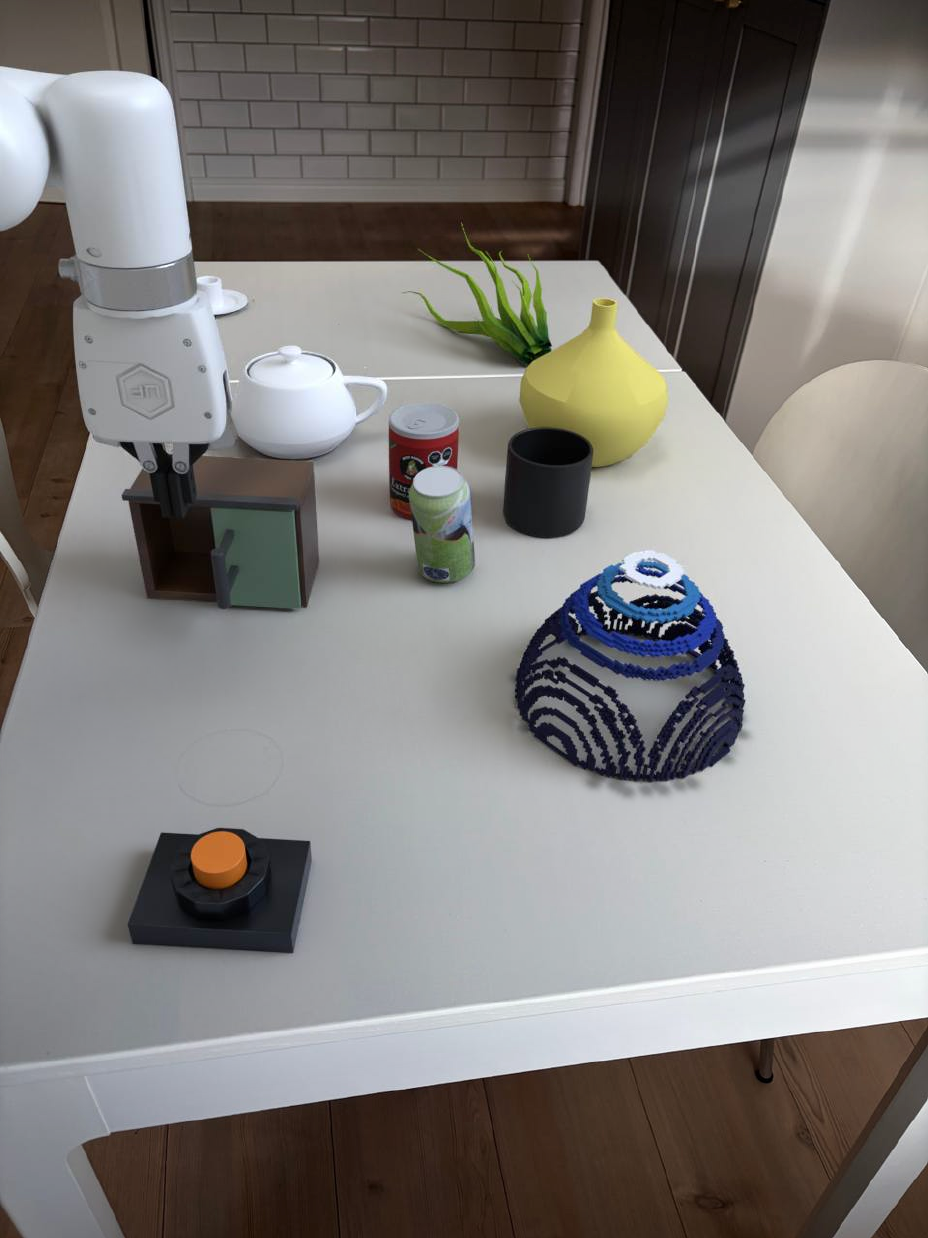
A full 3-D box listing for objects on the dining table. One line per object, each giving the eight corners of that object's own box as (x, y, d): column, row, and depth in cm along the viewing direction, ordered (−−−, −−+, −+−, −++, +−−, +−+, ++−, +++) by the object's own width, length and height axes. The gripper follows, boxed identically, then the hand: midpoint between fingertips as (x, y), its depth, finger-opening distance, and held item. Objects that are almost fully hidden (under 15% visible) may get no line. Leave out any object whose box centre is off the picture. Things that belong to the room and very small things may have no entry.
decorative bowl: (784, 705, 90) (826, 574, 81) (650, 819, 78) (682, 682, 69) (612, 605, 101) (632, 481, 92) (472, 692, 89) (480, 560, 80)
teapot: (389, 414, 133) (388, 326, 126) (386, 471, 121) (385, 377, 113) (200, 411, 132) (188, 321, 124) (178, 468, 119) (164, 372, 112)
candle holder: (174, 293, 166) (171, 267, 163) (247, 292, 168) (245, 266, 165) (171, 320, 156) (167, 293, 154) (248, 318, 158) (246, 291, 156)
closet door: (210, 638, 93) (195, 539, 86) (224, 601, 98) (211, 504, 91) (290, 642, 93) (282, 543, 86) (301, 605, 98) (294, 508, 91)
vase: (669, 486, 121) (698, 334, 109) (519, 481, 120) (532, 328, 108) (646, 419, 135) (669, 279, 124) (512, 414, 135) (523, 273, 123)
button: (187, 888, 67) (184, 871, 66) (201, 846, 70) (198, 829, 69) (241, 891, 67) (238, 874, 66) (252, 849, 70) (249, 832, 69)
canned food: (379, 514, 113) (378, 426, 106) (403, 482, 119) (403, 397, 112) (443, 527, 111) (446, 439, 104) (464, 493, 117) (468, 408, 111)
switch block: (132, 944, 67) (122, 908, 65) (164, 851, 74) (157, 815, 71) (293, 954, 67) (289, 918, 65) (312, 860, 74) (309, 824, 71)
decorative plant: (505, 300, 170) (511, 211, 161) (553, 370, 147) (564, 270, 138) (401, 303, 166) (402, 212, 158) (434, 375, 143) (437, 273, 135)
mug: (579, 486, 120) (588, 418, 114) (587, 540, 110) (597, 468, 105) (501, 483, 120) (506, 414, 114) (503, 537, 110) (508, 464, 105)
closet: (142, 606, 97) (121, 494, 90) (168, 553, 105) (150, 446, 97) (304, 615, 97) (296, 504, 90) (319, 562, 105) (313, 455, 97)
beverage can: (484, 567, 105) (491, 467, 98) (448, 601, 100) (452, 499, 93) (434, 549, 108) (437, 450, 100) (397, 581, 103) (396, 479, 95)
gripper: (9, 293, 65) (68, 531, 76) (238, 302, 65) (263, 538, 76) (48, 257, 71) (97, 482, 82) (258, 264, 71) (279, 488, 82)
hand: (177, 508), depth 79 cm, fingers closed
